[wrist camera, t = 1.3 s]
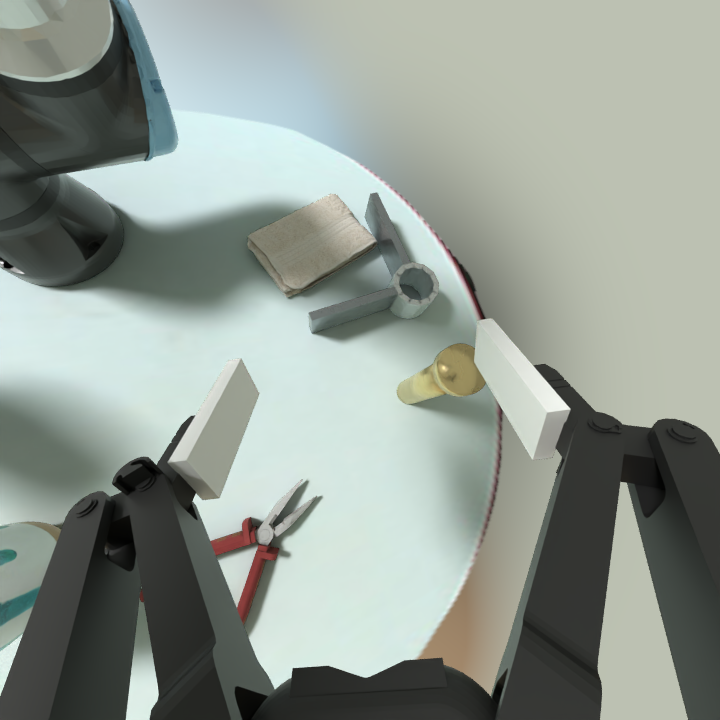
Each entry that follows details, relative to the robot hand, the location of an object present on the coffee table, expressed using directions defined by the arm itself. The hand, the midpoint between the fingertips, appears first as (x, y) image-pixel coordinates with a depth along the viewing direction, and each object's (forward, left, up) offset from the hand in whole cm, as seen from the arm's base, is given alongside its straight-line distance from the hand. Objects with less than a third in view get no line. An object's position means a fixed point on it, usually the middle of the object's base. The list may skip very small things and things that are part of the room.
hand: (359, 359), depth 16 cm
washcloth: (-25, +6, -26) cm, 37 cm away
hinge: (-18, +11, -25) cm, 33 cm away
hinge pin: (+3, +11, -25) cm, 28 cm away
